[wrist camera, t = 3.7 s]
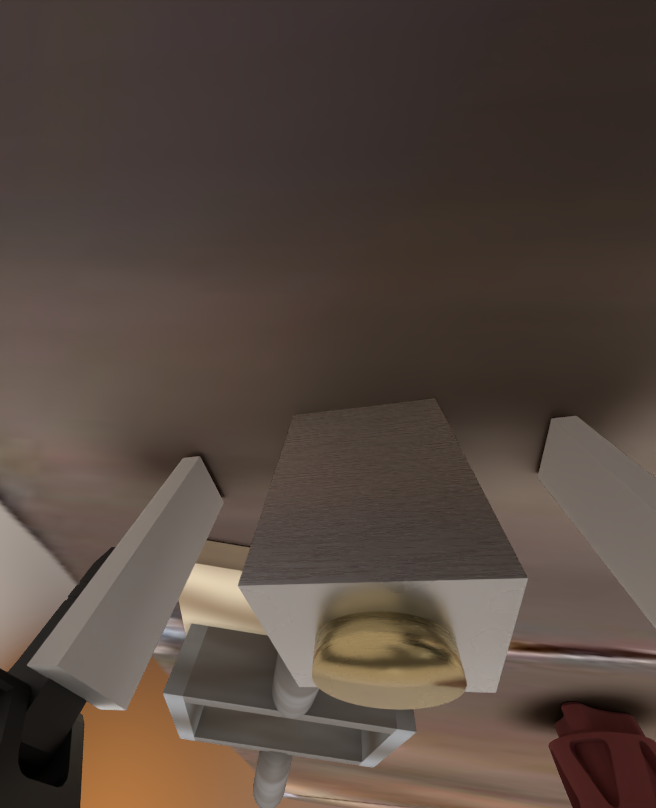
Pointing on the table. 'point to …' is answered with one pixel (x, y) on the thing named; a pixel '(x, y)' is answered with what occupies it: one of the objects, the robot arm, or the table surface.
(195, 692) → the shaft bench
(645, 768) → the mechanical component
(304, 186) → the table surface
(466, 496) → the block
